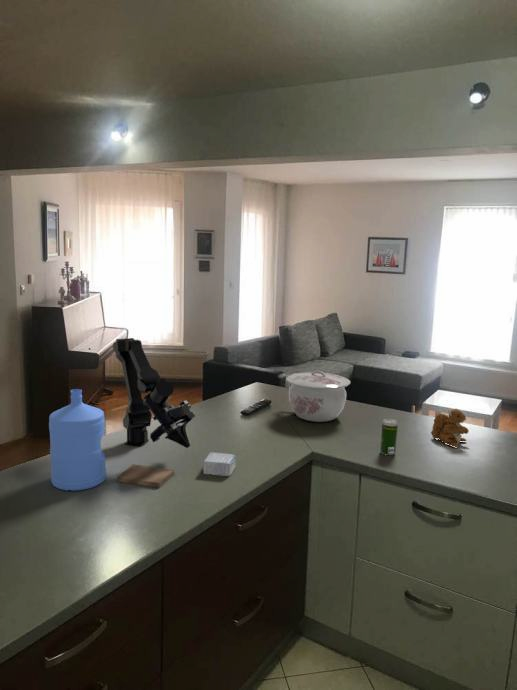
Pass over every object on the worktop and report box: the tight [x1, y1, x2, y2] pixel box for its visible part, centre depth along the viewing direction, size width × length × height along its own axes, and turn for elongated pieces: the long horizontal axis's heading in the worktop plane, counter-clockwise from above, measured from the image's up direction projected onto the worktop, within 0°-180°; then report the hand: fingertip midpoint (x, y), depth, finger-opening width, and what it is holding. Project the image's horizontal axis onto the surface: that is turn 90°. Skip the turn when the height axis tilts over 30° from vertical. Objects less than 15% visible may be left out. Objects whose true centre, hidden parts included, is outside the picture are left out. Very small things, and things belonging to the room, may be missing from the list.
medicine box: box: [202, 451, 236, 477], centre depth 168 cm, size 8×4×9 cm
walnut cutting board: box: [116, 463, 175, 489], centre depth 161 cm, size 14×10×2 cm
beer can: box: [379, 418, 399, 456], centre depth 186 cm, size 5×5×12 cm
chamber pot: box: [285, 370, 351, 423], centre depth 225 cm, size 28×28×21 cm
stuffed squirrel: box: [430, 408, 470, 447], centre depth 200 cm, size 10×14×13 cm
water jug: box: [48, 388, 107, 492], centre depth 156 cm, size 16×16×28 cm
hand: (188, 447), depth 170 cm, fingers closed
